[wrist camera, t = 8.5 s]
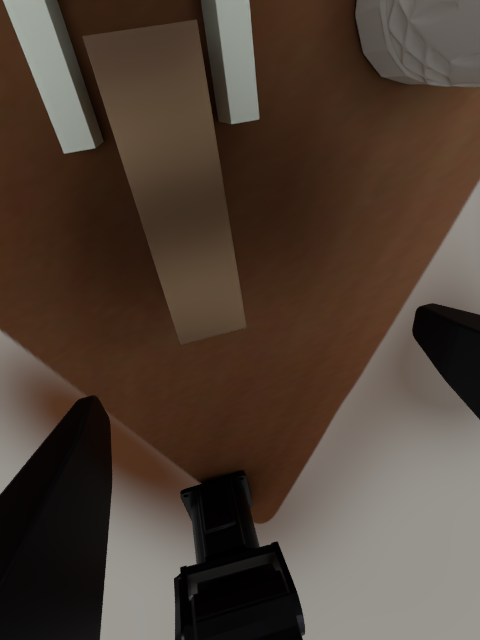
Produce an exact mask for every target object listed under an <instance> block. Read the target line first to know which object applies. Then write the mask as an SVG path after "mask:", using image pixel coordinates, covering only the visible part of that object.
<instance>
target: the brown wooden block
mask: <svg viewBox="0 0 480 640" xmlns="http://www.w3.org/2000/svg"><path fill="white" fill-rule="evenodd" d="M82 37H83V40H84V43H85V47H86V50H87V53H88V56H89V59H90V62H91V65H92V69H93V72H94V75H95V78H96V81H97V84H98V87H99V91H100V94H101V97H102V100H103V103H104V106H105V109H106V113H107V116H108V119H109V122H110V125H111V128H112V131H113V135H114V138H115V141H116V144H117V147H118V150H119V153H120V157H121V160H122V163H123V166H124V169H125V172H126V176H127V179H128V182H129V185H130V188H131V191H132V194H133V198H134V201H135V204H136V207H137V210H138V213H139V216H140V220H141V223H142V226H143V229H144V232H145V235H146V238H147V242H148V245H149V248H150V251H151V254H152V257H153V260H154V264H155V267H156V270H157V273H158V276H159V279H160V282H161V286H162V289H163V292H164V295H165V298H166V301H167V304H168V308H169V311H170V314H171V317H172V320H173V323H174V326H175V330H176V333H177V336H178V339H179V342H180V345H182V344H185V343H189V342H193V341H197V340H201V339H205V338H209V337H212V336H216V335H220V334H224V333H228V332H232V331H236V330H239V329H243V328H247V327H246V321H245V314H244V308H243V302H242V296H241V290H240V283H239V277H238V271H237V265H236V259H235V253H234V246H233V240H232V234H231V228H230V222H229V215H228V209H227V203H226V197H225V191H224V184H223V178H222V172H221V166H220V160H219V154H218V147H217V141H216V135H215V129H214V123H213V116H212V110H211V104H210V98H209V92H208V86H207V79H206V73H205V67H204V61H203V55H202V48H201V42H200V36H199V30H198V24H197V20H190V21H183V22H177V23H170V24H163V25H156V26H149V27H142V28H135V29H128V30H122V31H115V32H108V33H101V34H94V35H87V36H82Z"/></svg>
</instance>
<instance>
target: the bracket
mask: <svg viewBox="0 0 480 640" xmlns="http://www.w3.org/2000/svg"><path fill="white" fill-rule="evenodd" d="M3 1H4V4H5V6H6V9H7V11H8V14H9V16H10V19H11V22H12V24H13V27H14V29H15V32H16V34H17V37H18V39H19V42H20V44H21V47H22V49H23V52H24V54H25V57H26V59H27V62H28V64H29V67H30V69H31V72H32V74H33V77H34V79H35V82H36V84H37V87H38V89H39V92H40V94H41V97H42V99H43V102H44V104H45V107H46V109H47V112H48V114H49V117H50V120H51V122H52V125H53V127H54V130H55V132H56V135H57V137H58V140H59V142H60V145H61V147H62V150H63V152H64V154H65V153H71V152H77V151H82V150H88V149H94V148H96V147H98V146H99V145H100V144H101V143H103V142H104V141H103V138H102V134H101V131H100V128H99V125H98V122H97V119H96V116H95V113H94V110H93V107H92V104H91V101H90V98H89V95H88V92H87V89H86V86H85V83H84V80H83V77H82V74H81V71H80V68H79V65H78V62H77V59H76V55H75V52H74V49H73V46H72V43H71V40H70V37H69V34H68V31H67V28H66V25H65V22H64V19H63V16H62V13H61V10H60V7H59V4H58V1H57V0H3ZM201 6H202V13H203V20H204V27H205V34H206V40H207V47H208V54H209V61H210V68H211V74H212V81H213V88H214V95H215V102H216V108H217V115H218V122H222V123H227V124H236V123H242V122H248V121H254V120H259V109H258V97H257V86H256V74H255V62H254V51H253V39H252V27H251V15H250V4H249V0H201Z"/></svg>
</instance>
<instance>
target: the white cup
mask: <svg viewBox="0 0 480 640" xmlns="http://www.w3.org/2000/svg"><path fill="white" fill-rule="evenodd" d="M355 18H356V22H357V27H358V32H359V37H360V41H361V46H362V51H363V54H364V55H365V57H366V58H367V59H368V60H369V62H370V63H371V64H372V66H373V67H374V68H375V70H376V71H377V72H378V73H379V75H380V76H381V77H383V78H386V79H390V80H393V81H397V82H400V83H403V84H428V85H434V86H445V87H469V88H480V0H357V3H356V11H355Z"/></svg>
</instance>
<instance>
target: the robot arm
mask: <svg viewBox="0 0 480 640" xmlns="http://www.w3.org/2000/svg"><path fill="white" fill-rule="evenodd" d="M412 331H413V336H414V338H415V340H416V341H417V342H418V344H419V345H420V347H421V348H422V349H423V351H424V352H425V353H426V355H427V356H428V357H429V359H430V360H431V362H432V363H433V364H434V366H435V367H436V369H437V370H438V371H439V373H440V374H441V375H442V377H443V378H444V379H445V381H446V382H447V383H448V384H449V385H450V386H451V388H452V389H453V390H454V391H455V392H456V393H457V394H458V396H459V397H460V398H461V399H462V400H463V401H464V402H465V403H466V404H467V406H468V407H469V408H470V409H471V410H472V411H473V412H474V414H475V415H476V416H477V417H478V418H479V419H480V315H478V314H474V313H470V312H466V311H462V310H458V309H454V308H450V307H446V306H442V305H437V304H433V303H432V304H427V305H423V306H420V307H419V308H417V310H416V313H415V318H414V324H413V329H412ZM111 493H112V455H111V429H110V420H109V417H108V415H107V413H106V411H105V409H104V407H103V406H102V404H101V402H100V400H99V399H98V397H96V396H94V395H92V396H88V397H85V398H81V399H79V400H77V402H76V403H75V404H74V405H73V406H72V408H71V409H70V410H69V411H68V412H67V414H66V415H65V416H64V417H63V419H62V420H61V421H60V422H59V423H58V425H57V426H56V427H55V428H54V429H53V431H52V432H51V433H50V434H49V436H48V437H47V438H46V439H45V440H44V442H43V443H42V444H41V446H40V447H39V448H38V449H37V450H36V452H35V453H34V454H33V455H32V456H31V458H30V459H29V460H28V461H27V462H26V464H25V465H24V466H23V467H22V469H21V470H20V471H19V472H18V473H17V475H16V476H15V477H14V478H13V480H12V481H11V482H10V484H9V485H8V486H7V487H6V488H5V489H4V491H3V492H2V493H1V494H0V640H100V629H101V617H102V605H103V592H104V579H105V568H106V555H107V543H108V530H109V518H110V506H111V505H110V504H111ZM180 494H181V499H182V501H183V503H184V505H185V507H186V510H187V512H188V514H189V516H190V518H191V520H192V525H193V535H194V544H195V553H196V562H197V564H195V565H192V566H188V567H187V566H183V567H181V568H180V571H181V574H179V575H178V576H177V577H176V578H174V588H175V640H303V639H302V636H303V635H304V634H305V624H304V618H303V613H302V608H301V604H300V601H299V597H298V594H297V591H296V588H295V585H294V583H293V580H292V578H291V575H290V572H289V570H288V567H287V565H286V562H285V559H284V557H283V554H282V552H281V549H280V547H279V544H278V542H273V543H271V544H270V545H266V546H263V547H260V546H259V543H258V539H257V535H256V531H255V527H254V523H253V519H252V515H251V511H250V508H251V507H252V500H251V496H250V491H249V487H248V483H247V478H246V474H245V473H244V472H239V473H236V474H232V475H229V476H226V477H223V478H219V479H216V480H213V481H210V482H206V483H203V484H200V485H197V486H193V487H190V488H187V489H184V490H182V491H181V492H180ZM191 596H192V597H191Z"/></svg>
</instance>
